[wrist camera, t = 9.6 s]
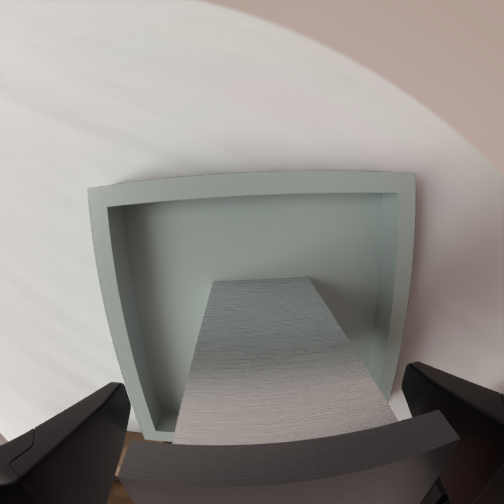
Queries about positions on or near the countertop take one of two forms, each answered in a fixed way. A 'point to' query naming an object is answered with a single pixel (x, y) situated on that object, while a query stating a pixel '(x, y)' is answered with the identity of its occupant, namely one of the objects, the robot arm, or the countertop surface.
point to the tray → (248, 265)
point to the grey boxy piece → (284, 414)
